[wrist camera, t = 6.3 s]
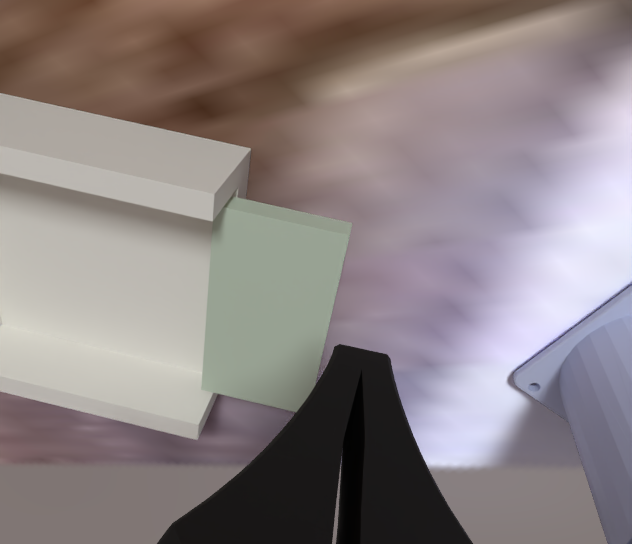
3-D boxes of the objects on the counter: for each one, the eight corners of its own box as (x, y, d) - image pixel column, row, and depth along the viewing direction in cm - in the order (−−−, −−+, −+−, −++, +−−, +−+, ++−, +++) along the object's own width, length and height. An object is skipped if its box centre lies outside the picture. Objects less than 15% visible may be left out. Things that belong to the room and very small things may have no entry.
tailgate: (226, 187, 20) (353, 216, 20) (212, 366, 26) (313, 390, 25) (213, 205, 19) (349, 235, 19) (201, 389, 24) (308, 415, 24)
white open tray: (251, 148, 21) (214, 194, 17) (227, 371, 27) (197, 440, 23) (-39, 84, 21) (-137, 115, 18) (6, 317, 28) (-59, 376, 24)
